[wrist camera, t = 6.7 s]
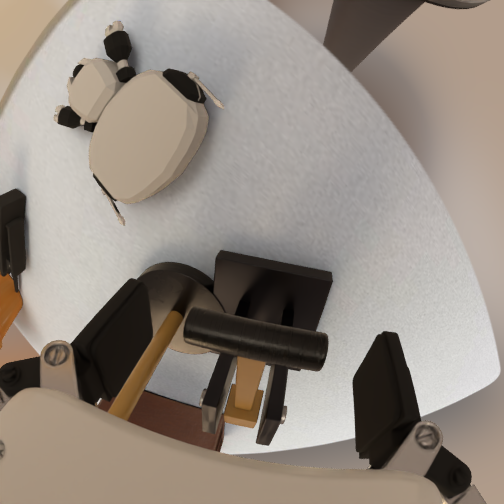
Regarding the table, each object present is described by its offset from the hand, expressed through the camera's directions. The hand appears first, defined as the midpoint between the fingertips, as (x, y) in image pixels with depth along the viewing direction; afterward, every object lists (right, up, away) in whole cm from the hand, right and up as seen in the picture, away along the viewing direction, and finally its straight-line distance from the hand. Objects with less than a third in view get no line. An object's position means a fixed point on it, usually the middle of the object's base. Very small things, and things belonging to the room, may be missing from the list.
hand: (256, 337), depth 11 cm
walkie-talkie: (-33, +1, +18) cm, 38 cm away
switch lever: (0, -3, +4) cm, 5 cm away
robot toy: (-10, +15, +10) cm, 21 cm away
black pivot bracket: (+1, -3, +17) cm, 17 cm away
